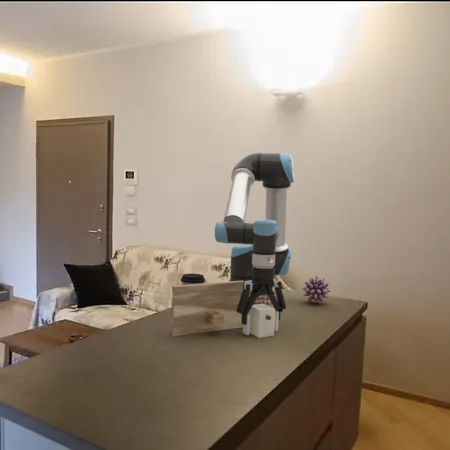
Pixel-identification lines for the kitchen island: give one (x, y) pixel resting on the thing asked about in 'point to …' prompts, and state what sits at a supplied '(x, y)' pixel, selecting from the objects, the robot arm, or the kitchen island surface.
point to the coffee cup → (192, 279)
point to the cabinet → (262, 320)
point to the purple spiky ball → (316, 289)
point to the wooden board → (205, 307)
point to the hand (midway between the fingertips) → (260, 331)
